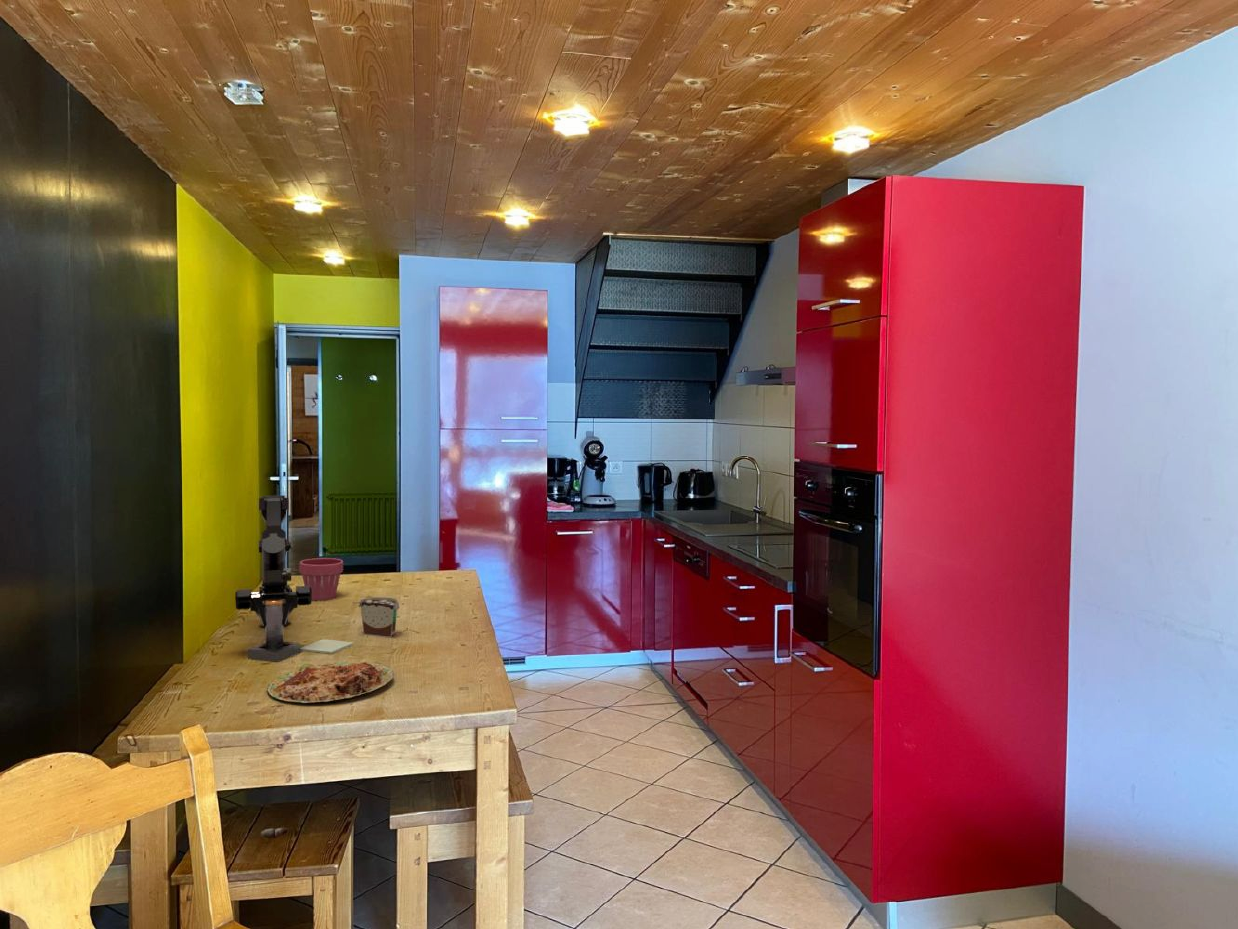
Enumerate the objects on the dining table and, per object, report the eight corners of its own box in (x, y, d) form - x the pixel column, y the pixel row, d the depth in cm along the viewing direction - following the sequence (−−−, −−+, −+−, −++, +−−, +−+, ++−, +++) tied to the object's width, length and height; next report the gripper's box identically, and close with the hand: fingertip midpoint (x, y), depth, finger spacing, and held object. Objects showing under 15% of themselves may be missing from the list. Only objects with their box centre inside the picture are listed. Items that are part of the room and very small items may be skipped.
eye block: (248, 658, 220) (248, 649, 219) (272, 649, 228) (272, 640, 228) (277, 661, 217) (277, 652, 217) (300, 652, 226) (300, 643, 225)
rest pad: (299, 650, 227) (299, 648, 227) (322, 641, 237) (322, 639, 237) (331, 654, 224) (331, 651, 224) (354, 644, 234) (354, 642, 234)
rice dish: (268, 718, 181) (268, 694, 180) (265, 676, 206) (265, 654, 205) (402, 702, 192) (403, 679, 191) (384, 664, 217) (384, 643, 217)
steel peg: (261, 650, 221) (260, 601, 220) (273, 646, 225) (272, 597, 225) (276, 652, 220) (275, 602, 219) (287, 647, 224) (287, 599, 223)
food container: (408, 633, 247) (408, 599, 246) (395, 638, 241) (395, 603, 241) (371, 629, 251) (371, 595, 250) (359, 634, 245) (358, 599, 245)
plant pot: (352, 597, 294) (352, 560, 293) (318, 604, 282) (318, 566, 282) (324, 592, 302) (324, 556, 301) (290, 599, 290) (290, 561, 289)
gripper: (235, 559, 222) (233, 611, 212) (311, 556, 229) (313, 605, 219) (236, 583, 230) (235, 634, 220) (310, 579, 237) (312, 628, 227)
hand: (274, 625), depth 221 cm, fingers closed on steel peg, 4 cm apart
